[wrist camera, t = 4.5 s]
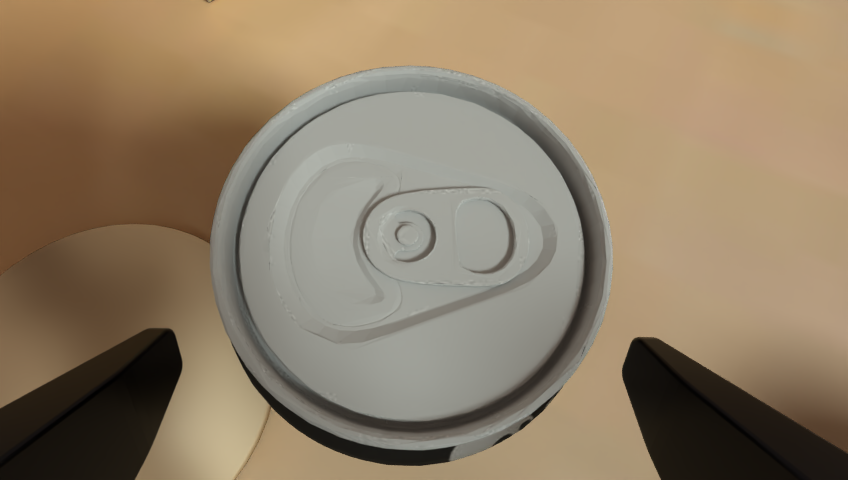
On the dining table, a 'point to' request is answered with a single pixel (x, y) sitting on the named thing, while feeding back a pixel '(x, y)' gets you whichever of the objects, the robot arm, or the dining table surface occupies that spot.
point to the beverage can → (410, 263)
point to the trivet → (125, 317)
